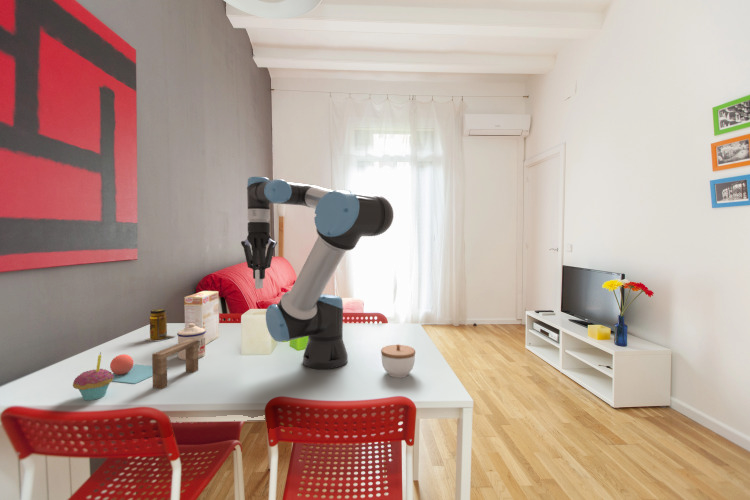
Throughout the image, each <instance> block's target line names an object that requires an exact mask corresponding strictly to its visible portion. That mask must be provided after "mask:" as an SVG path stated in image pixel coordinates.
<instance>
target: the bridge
mask: <svg viewBox="0 0 750 500" xmlns="http://www.w3.org/2000/svg"><path fill="white" fill-rule="evenodd" d="M184 349H185V350H186V360H185V372H189V373H196V372H197V371H199V358H198V340H191V339H190V340H187V341H184V342H182V343H179V344H178V343H177V344H174V345H171V346H170V347H167V348H164V349H162V350H159V351H157V352H153V353H152V354H151V358H152V359H151V360H152V361H151V362H152V363H151V364H152V365H151V366H152V371H153V376H152V388H153V389H158V390H159V389H161V390H162V389H165V388H167V387H168V369H167V368H168V357H170V356H173V355H174V354H178V352H179V351H182V350H184Z"/></svg>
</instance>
